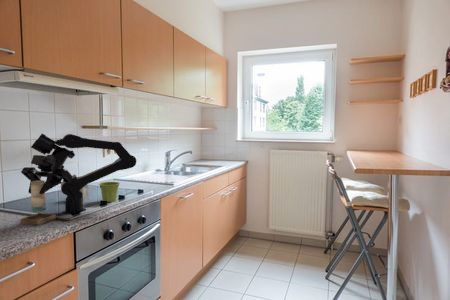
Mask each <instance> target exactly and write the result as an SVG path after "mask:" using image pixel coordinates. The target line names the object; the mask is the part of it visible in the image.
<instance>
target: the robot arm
mask: <svg viewBox="0 0 450 300" xmlns="http://www.w3.org/2000/svg"><path fill="white" fill-rule="evenodd" d="M30 148H31V149H32V150H35V151H37V152H39V153H40V154H41V155H40V154H34V155H32V159H31V161H30V164H31V165H35V166H37V169H38V170H37V169H36V168H35V167H33V166H32V167H31V166H29V167H28V166H26V167H23V168H22V170H21V171H20V173H21V174H22V175H23V176H24V177H26V178H27V180H29V186H28V194H30V195H31V182H32V181H39V180H42V179H41V178H46V180H44V181H45V183H44V185H43V186H42V188H41V190H40V192H39V193H40V194H43V193H45V194H46V192H48V191H49V190H51V189H53V188H54V187H57V186H58V185H60V190H61V192H62V193H63V195H65V196H66V197H65V201H64V203H65V206H64V207H65V209H64V210H63V211H62V213H66V214H74V212H73V211H74V210H79V211H80V212H79V213H81V212H83V211H86V210H87V208H84V204H83V203H84V201H83V196H82V195H83V193H82V191H81V190H80V189H82V188H83V187H84V186H85V185H87V186H88V185H90V184H92V183H93V182H95V181H99V180H100V179H102V178H104V177H107V176H109V175H110V174H114V173H116V172H118V171H123V170H128V169H133V168H134V167H135V166H136V165H137V159H136V157H135V156H134V155H131V154H130V152H128V150H127V149H126V148H125V147H124V146H123V144H122V143H121V142H120V141H119V142H118V141H108V140H101V139H92V138H91V139H90V138H86V137H83V136H80V135H75V134H73V133H67V134H65V135H63V137H62V138H60V139H56V140H54V139H53V138H50V137H48V136H47V135H45V134H44V133H41V134H40V135H39V137H38V138H37V139H35V141H34V142H33V144H32V145H31V146H30ZM81 148H84V149H85V148H89V149H90V148H92V149H101V150H108V151H109V150H111V151H114V152H115V154H116V155H117V157H118V158H117V159H116V160H114V162H113V161H112V163H109V164H106V165H104V166H102V167H100V168H98V169H95V170H93V171H91V172H88V173H86V174H84V175H80V176H77V175H76V174H71V173H70V171H69V170H68V169H67V168H65V166H64V164H65V162H66V161H67V160H68V158H69V159H73V158H74V157H75V156H76V154H75V152H74V150H73V149H81ZM69 149H72V150H69ZM46 154H47V155H46Z"/></svg>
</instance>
